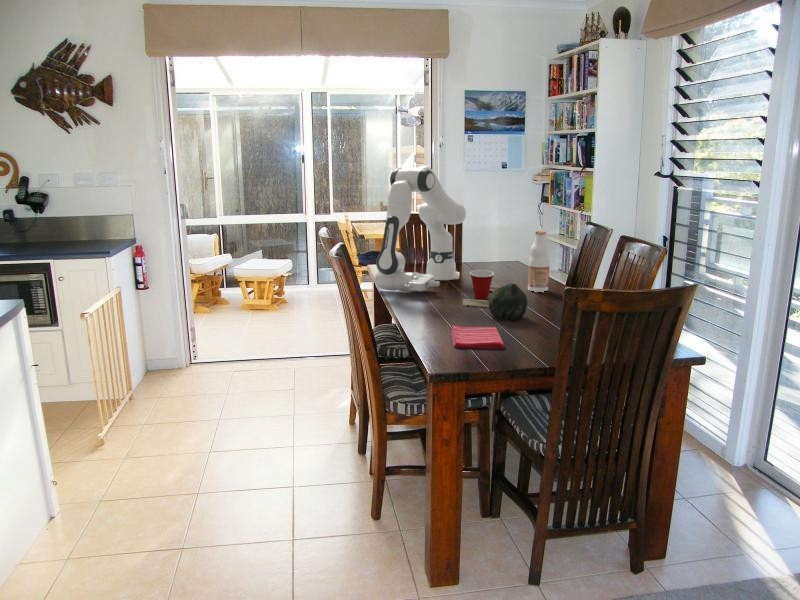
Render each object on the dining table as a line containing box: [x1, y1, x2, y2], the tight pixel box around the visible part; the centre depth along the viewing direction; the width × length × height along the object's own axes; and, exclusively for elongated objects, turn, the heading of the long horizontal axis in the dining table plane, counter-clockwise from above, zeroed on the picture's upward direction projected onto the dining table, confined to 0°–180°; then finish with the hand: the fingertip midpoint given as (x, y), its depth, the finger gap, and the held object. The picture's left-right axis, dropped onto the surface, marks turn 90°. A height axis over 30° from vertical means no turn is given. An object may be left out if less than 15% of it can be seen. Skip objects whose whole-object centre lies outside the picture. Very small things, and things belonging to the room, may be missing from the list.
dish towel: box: [451, 325, 506, 350], centre depth 225 cm, size 17×24×3 cm
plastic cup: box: [469, 269, 495, 301], centre depth 285 cm, size 11×11×12 cm
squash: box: [488, 283, 529, 321], centre depth 251 cm, size 14×15×15 cm
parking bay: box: [462, 285, 501, 308], centre depth 285 cm, size 31×18×2 cm, turn 162°
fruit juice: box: [527, 230, 551, 293], centre depth 299 cm, size 9×9×28 cm
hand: (438, 283), depth 291 cm, fingers closed
